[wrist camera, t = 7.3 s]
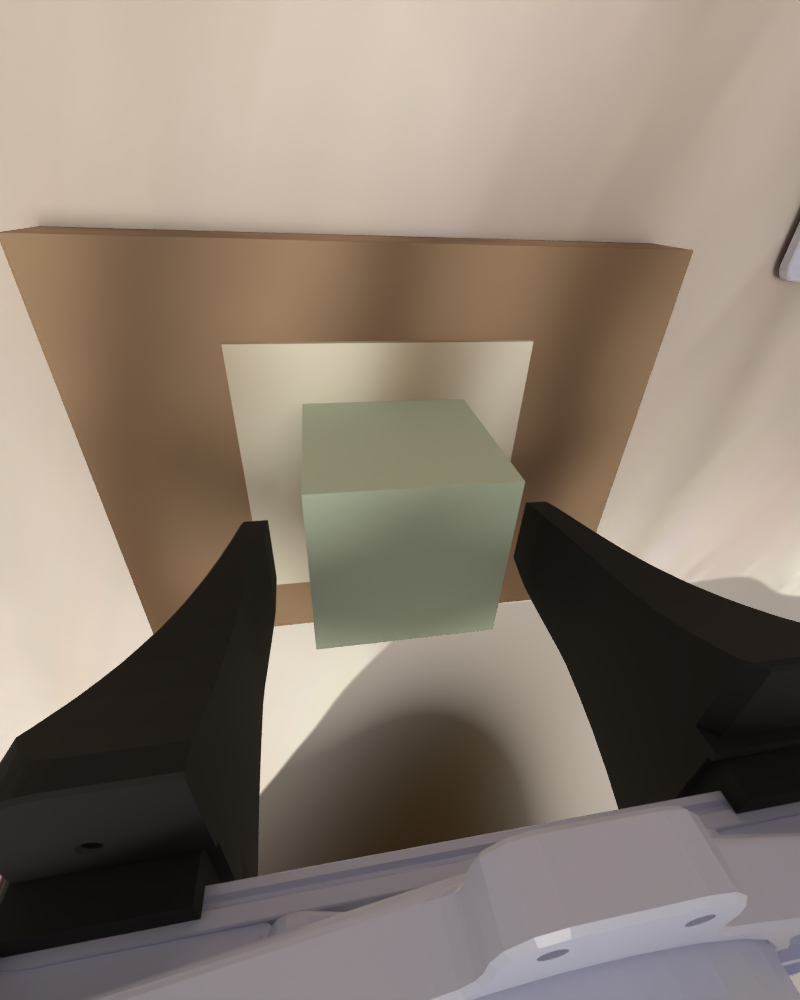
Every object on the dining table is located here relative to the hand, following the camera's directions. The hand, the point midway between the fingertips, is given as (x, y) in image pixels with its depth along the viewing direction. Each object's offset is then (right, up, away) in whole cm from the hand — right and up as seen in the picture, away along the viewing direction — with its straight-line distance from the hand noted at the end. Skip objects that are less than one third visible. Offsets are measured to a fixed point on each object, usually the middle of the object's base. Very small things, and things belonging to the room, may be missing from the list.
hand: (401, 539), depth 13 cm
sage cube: (-1, +2, +3) cm, 3 cm away
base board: (-1, +3, +5) cm, 6 cm away
